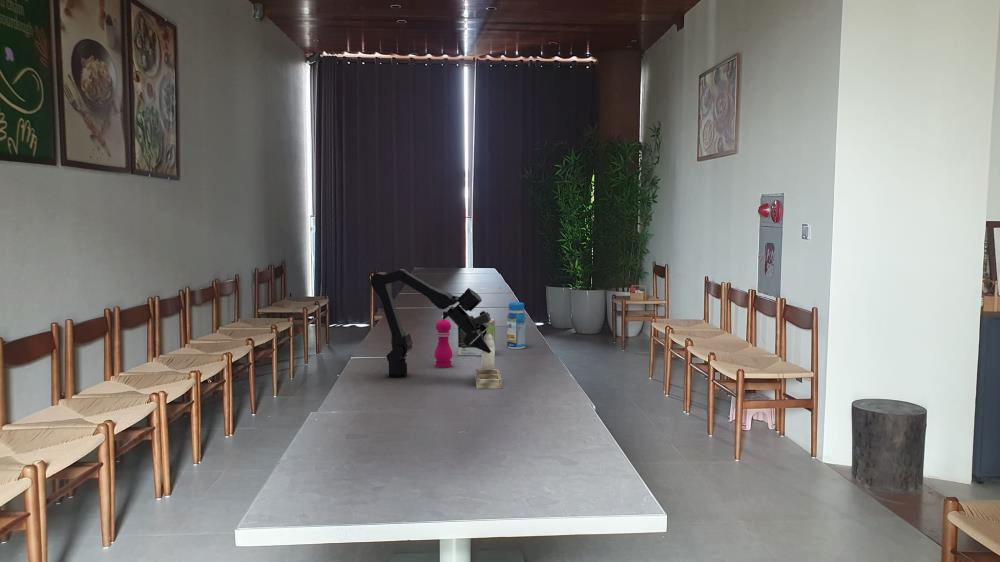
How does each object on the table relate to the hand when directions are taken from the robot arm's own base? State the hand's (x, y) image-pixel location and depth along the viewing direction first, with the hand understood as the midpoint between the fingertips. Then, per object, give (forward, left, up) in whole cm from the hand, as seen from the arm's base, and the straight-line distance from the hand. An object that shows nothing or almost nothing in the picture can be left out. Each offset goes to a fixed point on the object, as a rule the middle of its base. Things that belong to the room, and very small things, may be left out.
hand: (491, 351), depth 273 cm
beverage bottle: (+14, +61, -11) cm, 63 cm away
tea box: (-4, +48, -11) cm, 49 cm away
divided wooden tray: (-1, -3, -11) cm, 12 cm away
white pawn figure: (-1, 0, -7) cm, 7 cm away
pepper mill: (-18, +25, -11) cm, 32 cm away
